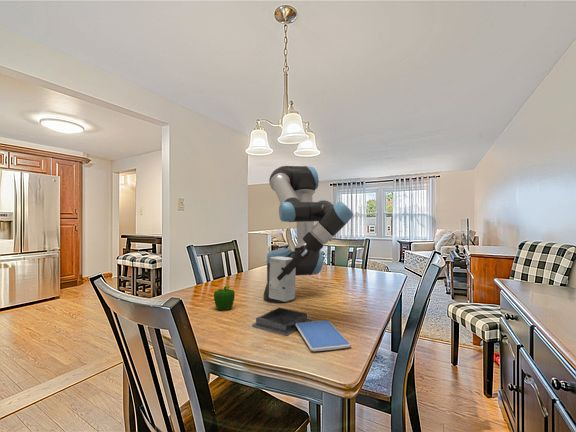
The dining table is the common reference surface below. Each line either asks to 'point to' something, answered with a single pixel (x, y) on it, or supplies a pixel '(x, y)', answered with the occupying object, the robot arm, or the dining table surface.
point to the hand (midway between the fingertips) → (273, 282)
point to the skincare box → (287, 285)
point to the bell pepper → (224, 298)
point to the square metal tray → (280, 321)
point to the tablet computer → (322, 335)
